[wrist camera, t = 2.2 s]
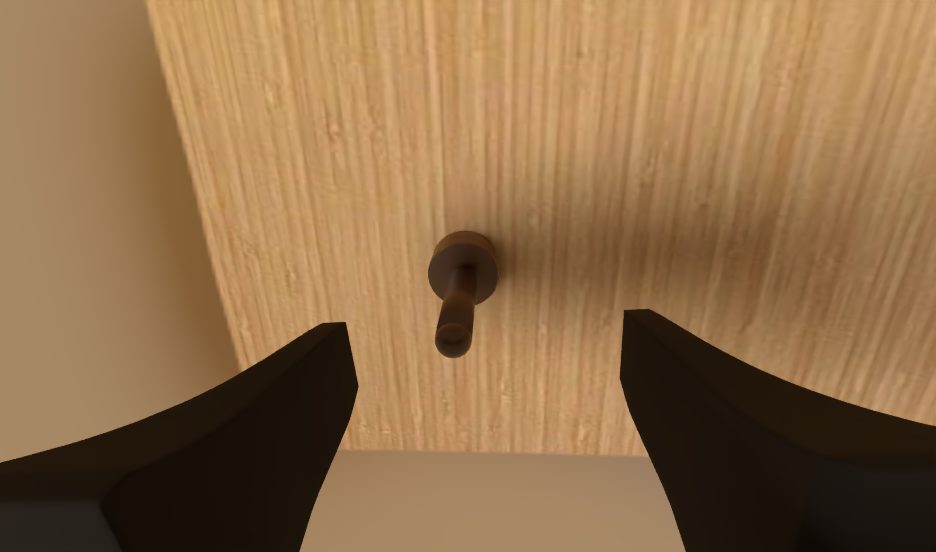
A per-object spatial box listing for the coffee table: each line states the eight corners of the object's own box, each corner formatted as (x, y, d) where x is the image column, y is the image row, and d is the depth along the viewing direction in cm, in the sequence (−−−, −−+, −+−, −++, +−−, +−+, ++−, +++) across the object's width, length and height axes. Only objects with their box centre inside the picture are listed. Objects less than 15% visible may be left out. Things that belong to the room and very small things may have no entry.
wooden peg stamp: (499, 290, 22) (502, 387, 15) (436, 293, 22) (410, 390, 15) (496, 228, 21) (497, 304, 14) (429, 232, 21) (398, 309, 14)
